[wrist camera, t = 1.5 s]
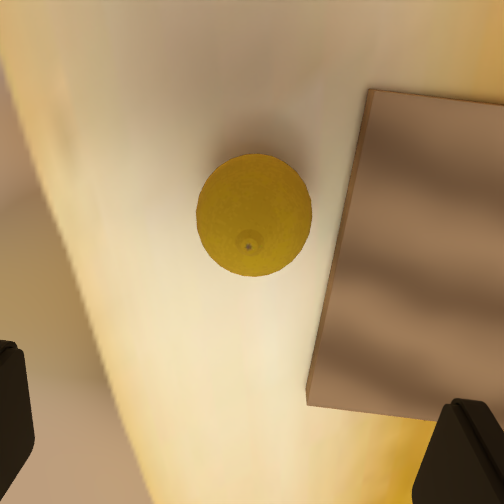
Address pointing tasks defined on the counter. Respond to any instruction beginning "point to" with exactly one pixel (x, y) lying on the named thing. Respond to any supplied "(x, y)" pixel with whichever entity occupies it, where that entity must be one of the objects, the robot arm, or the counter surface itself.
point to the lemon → (254, 215)
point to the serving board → (417, 264)
